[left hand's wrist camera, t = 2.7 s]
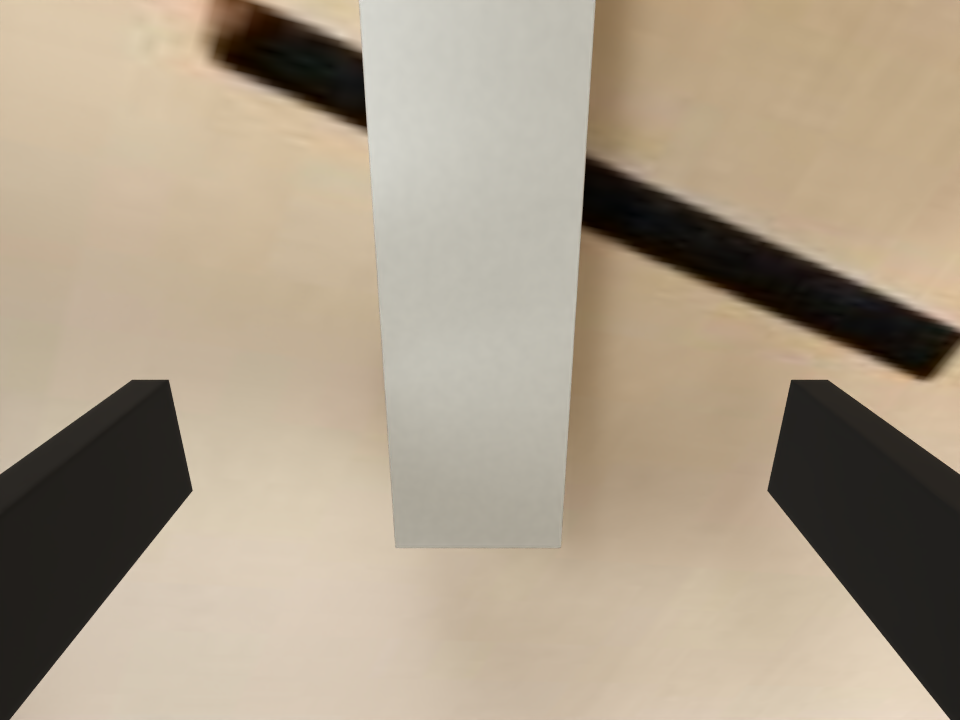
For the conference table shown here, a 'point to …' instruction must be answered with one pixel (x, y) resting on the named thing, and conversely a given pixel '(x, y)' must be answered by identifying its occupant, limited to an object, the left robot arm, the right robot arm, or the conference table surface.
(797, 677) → the conference table surface
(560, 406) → the bar
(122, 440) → the left robot arm
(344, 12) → the conference table surface
